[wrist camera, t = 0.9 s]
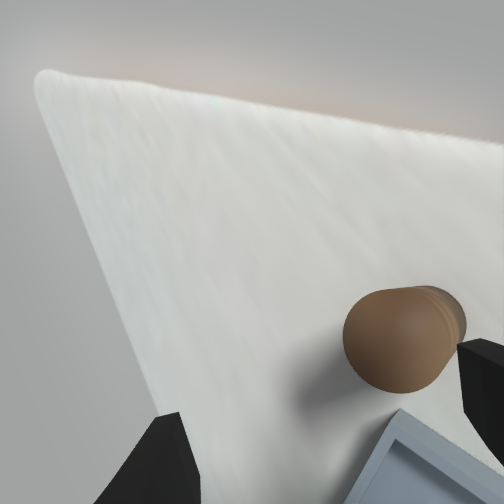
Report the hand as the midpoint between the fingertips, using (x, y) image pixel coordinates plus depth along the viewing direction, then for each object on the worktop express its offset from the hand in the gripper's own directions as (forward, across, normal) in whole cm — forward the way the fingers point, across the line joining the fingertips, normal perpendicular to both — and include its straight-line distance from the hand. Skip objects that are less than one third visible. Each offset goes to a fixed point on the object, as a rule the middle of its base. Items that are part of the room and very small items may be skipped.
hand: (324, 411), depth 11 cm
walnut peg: (+12, -8, +5) cm, 15 cm away
